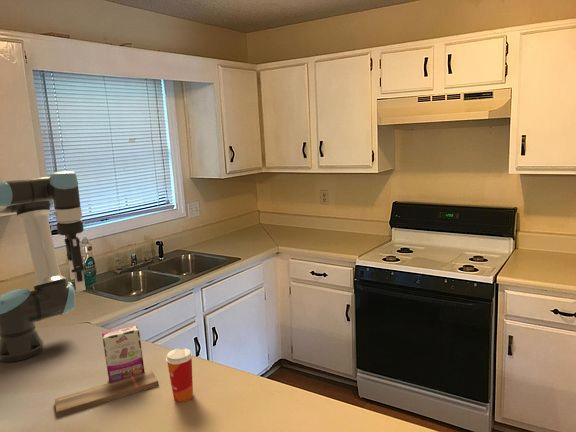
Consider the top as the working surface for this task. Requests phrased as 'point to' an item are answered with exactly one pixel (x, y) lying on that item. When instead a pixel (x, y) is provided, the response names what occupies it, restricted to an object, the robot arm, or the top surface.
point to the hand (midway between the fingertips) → (77, 284)
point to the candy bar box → (123, 353)
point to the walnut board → (105, 393)
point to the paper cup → (180, 374)
